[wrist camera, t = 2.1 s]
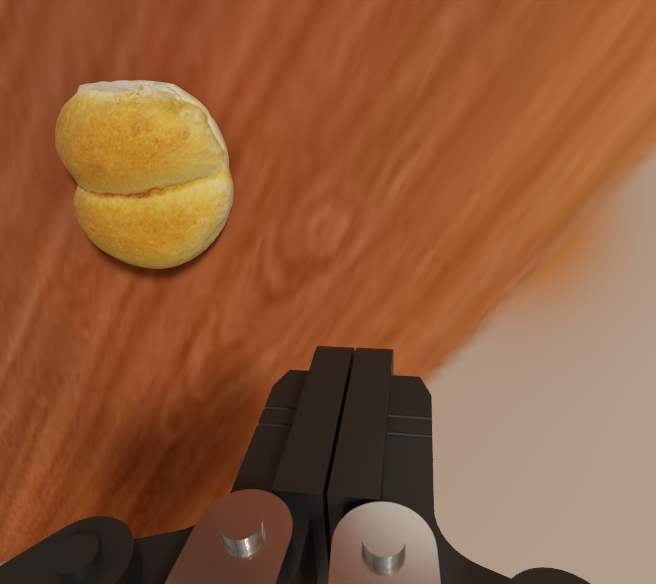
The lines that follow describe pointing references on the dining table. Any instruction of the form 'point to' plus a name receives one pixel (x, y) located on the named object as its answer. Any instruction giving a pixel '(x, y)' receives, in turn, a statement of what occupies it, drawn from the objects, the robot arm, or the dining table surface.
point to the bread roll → (145, 170)
